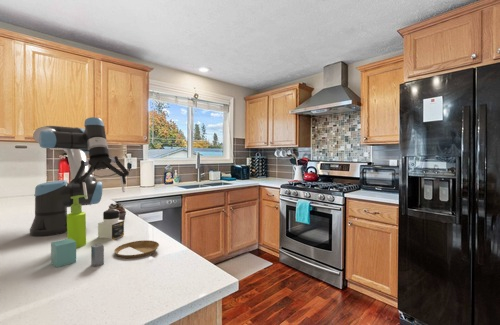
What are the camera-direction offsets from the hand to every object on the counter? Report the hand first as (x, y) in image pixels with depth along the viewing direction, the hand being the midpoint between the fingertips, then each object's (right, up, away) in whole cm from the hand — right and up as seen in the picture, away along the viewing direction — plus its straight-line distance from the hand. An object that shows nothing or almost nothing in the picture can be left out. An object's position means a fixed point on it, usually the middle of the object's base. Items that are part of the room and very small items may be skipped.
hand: (105, 194), depth 102 cm
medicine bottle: (0, -20, +4) cm, 20 cm away
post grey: (+12, -20, -24) cm, 34 cm away
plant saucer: (+19, -20, -13) cm, 31 cm away
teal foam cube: (0, -19, -23) cm, 30 cm away
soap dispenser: (-6, -20, -7) cm, 22 cm away
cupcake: (-13, -19, +31) cm, 39 cm away
